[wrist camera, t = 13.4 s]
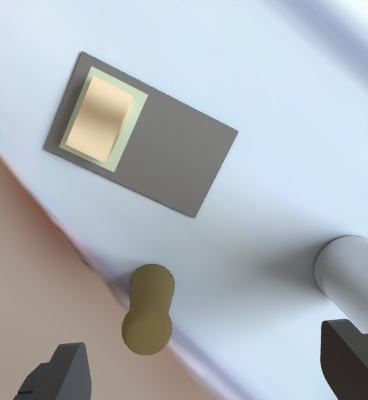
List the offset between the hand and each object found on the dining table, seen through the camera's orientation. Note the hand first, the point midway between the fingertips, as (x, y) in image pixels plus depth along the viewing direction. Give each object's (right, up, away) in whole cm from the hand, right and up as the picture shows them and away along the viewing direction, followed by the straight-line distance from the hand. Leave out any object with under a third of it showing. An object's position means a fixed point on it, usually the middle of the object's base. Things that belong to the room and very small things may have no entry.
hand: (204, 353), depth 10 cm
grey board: (-6, +12, +26) cm, 29 cm away
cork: (-5, -6, +30) cm, 31 cm away
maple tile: (-10, +14, +25) cm, 30 cm away
